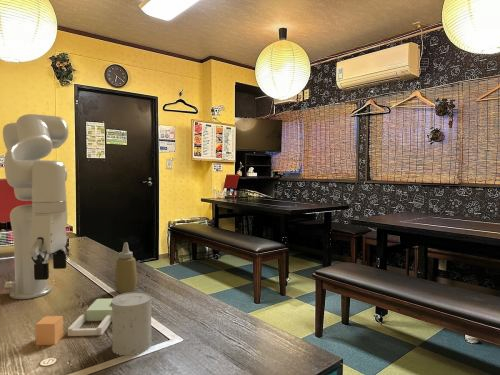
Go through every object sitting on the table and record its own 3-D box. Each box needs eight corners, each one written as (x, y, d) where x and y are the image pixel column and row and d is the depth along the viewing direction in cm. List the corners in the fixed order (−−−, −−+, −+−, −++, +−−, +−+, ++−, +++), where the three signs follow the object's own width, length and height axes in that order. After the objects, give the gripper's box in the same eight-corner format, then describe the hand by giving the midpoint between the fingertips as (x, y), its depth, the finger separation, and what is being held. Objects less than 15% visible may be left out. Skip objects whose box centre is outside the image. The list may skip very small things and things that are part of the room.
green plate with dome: (67, 336, 93) (67, 322, 93) (92, 308, 111) (92, 297, 110) (126, 334, 94) (126, 320, 94) (141, 307, 112) (141, 296, 112)
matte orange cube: (36, 345, 88) (35, 324, 88) (45, 336, 93) (44, 316, 92) (55, 344, 88) (54, 323, 88) (63, 335, 93) (62, 316, 93)
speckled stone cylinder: (118, 337, 93) (117, 292, 92) (154, 336, 93) (154, 291, 93) (106, 356, 83) (106, 306, 82) (147, 355, 84) (147, 305, 83)
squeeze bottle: (130, 296, 121) (129, 245, 120) (109, 294, 123) (109, 244, 122) (142, 288, 129) (141, 241, 128) (122, 286, 131) (121, 239, 130)
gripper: (50, 205, 98) (52, 265, 99) (14, 212, 81) (16, 284, 81) (78, 205, 99) (79, 264, 99) (48, 212, 81) (50, 283, 82)
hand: (51, 273), depth 90 cm, fingers open, 9 cm apart
